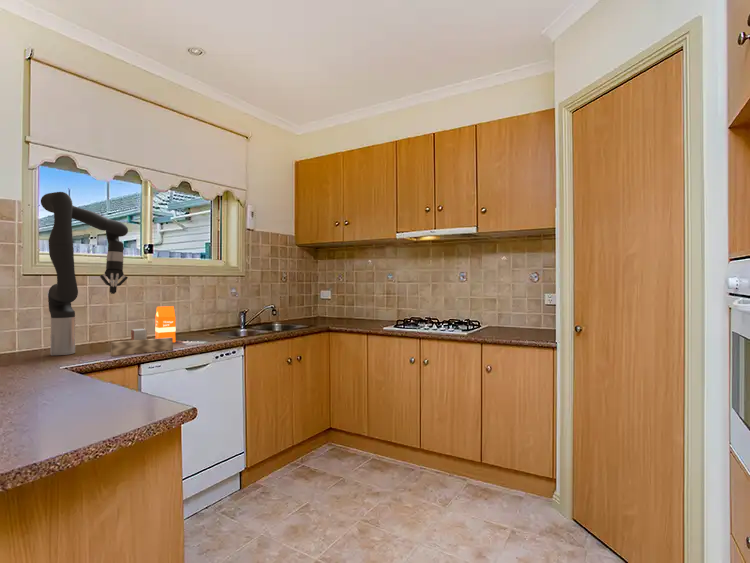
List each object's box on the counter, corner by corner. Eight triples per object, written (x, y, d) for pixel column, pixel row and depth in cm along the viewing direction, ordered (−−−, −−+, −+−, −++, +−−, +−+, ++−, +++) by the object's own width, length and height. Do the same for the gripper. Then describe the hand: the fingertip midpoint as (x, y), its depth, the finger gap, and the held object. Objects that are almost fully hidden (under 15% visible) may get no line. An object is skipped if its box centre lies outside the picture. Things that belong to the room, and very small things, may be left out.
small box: (131, 350, 209) (130, 329, 209) (144, 349, 212) (143, 328, 212) (134, 352, 203) (133, 330, 202) (147, 351, 206) (146, 329, 206)
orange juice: (155, 341, 238) (155, 306, 238) (172, 340, 244) (172, 305, 244) (158, 343, 232) (158, 307, 232) (175, 342, 238) (175, 306, 238)
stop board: (111, 355, 194) (111, 342, 194) (110, 354, 197) (110, 342, 197) (172, 350, 211) (172, 337, 211) (171, 349, 213) (171, 337, 213)
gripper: (101, 259, 216) (99, 293, 215) (130, 261, 224) (128, 294, 223) (99, 260, 222) (96, 293, 220) (127, 262, 230) (125, 294, 229)
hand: (112, 293), depth 222 cm, fingers closed
